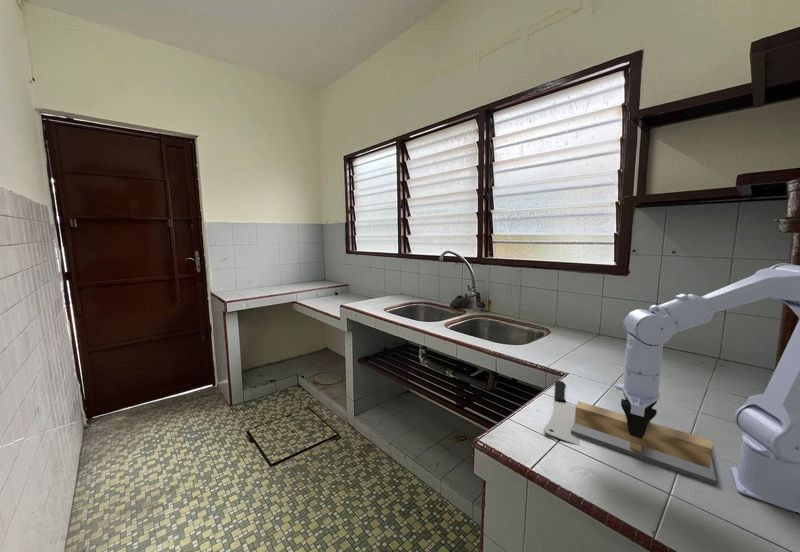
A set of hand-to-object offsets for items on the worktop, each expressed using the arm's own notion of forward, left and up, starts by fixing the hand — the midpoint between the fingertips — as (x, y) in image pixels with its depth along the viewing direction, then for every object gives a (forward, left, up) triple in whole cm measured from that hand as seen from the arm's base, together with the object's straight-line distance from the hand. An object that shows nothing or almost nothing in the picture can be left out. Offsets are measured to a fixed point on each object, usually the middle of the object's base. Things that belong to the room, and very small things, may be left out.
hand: (636, 431), depth 65 cm
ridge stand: (0, -14, -9) cm, 17 cm away
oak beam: (0, 0, -2) cm, 2 cm away
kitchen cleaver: (+16, -17, -10) cm, 26 cm away
